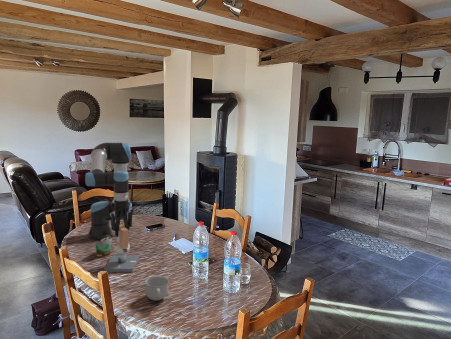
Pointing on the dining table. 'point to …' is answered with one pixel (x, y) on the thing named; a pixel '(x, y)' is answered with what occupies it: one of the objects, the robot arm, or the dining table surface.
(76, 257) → the dining table surface
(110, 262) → the post base
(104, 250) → the food container
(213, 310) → the dining table surface
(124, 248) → the brown box
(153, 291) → the teacup
